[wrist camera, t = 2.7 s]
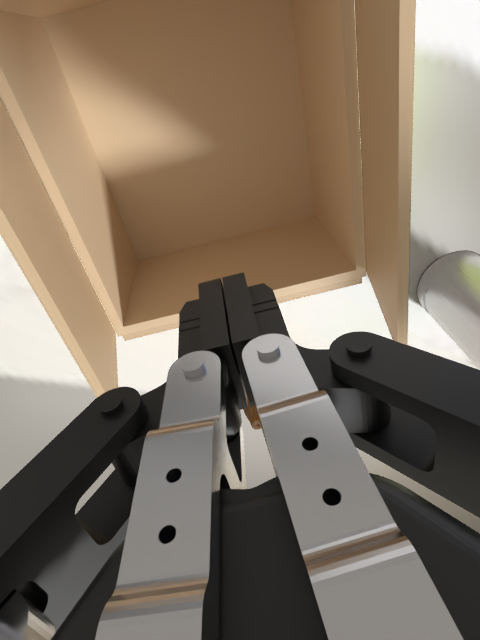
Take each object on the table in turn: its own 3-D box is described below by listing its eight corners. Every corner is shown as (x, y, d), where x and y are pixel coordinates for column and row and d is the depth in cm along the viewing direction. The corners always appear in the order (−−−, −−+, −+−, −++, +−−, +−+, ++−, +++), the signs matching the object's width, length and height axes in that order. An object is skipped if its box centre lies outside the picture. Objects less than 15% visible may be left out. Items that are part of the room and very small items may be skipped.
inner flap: (397, 350, 26) (407, 349, 26) (400, -189, 13) (420, -195, 13) (366, 270, 34) (373, 269, 34) (350, -105, 21) (361, -109, 21)
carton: (290, -71, 32) (348, -137, 21) (321, 223, 47) (366, 281, 35) (26, 0, 33) (-59, -24, 22) (136, 269, 47) (120, 341, 36)
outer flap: (-140, -38, 14) (-159, -34, 14) (119, 416, 26) (110, 420, 26) (-47, 3, 22) (-58, 6, 22) (115, 332, 35) (108, 334, 35)
